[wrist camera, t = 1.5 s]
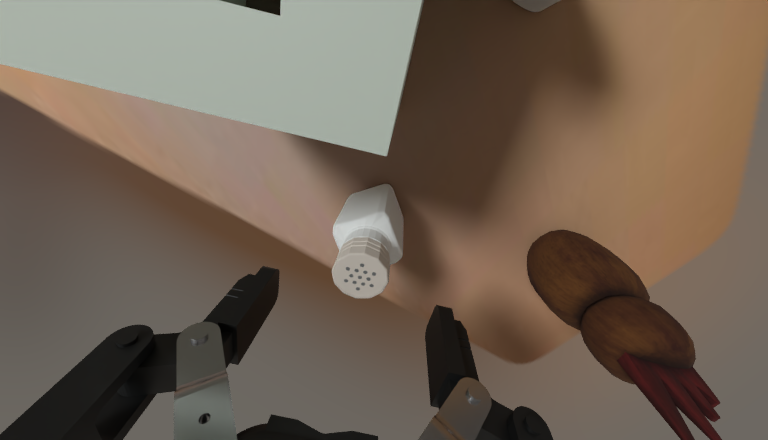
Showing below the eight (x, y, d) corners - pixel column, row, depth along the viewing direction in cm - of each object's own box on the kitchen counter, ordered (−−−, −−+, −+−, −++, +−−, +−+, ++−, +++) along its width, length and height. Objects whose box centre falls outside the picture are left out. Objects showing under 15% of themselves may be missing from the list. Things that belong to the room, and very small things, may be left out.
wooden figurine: (502, 253, 25) (616, 457, 11) (552, 206, 22) (776, 392, 9) (554, 288, 26) (714, 507, 12) (608, 247, 23) (876, 463, 10)
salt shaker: (391, 179, 22) (381, 238, 14) (405, 220, 24) (405, 296, 15) (346, 193, 23) (312, 257, 14) (363, 232, 25) (341, 310, 16)
